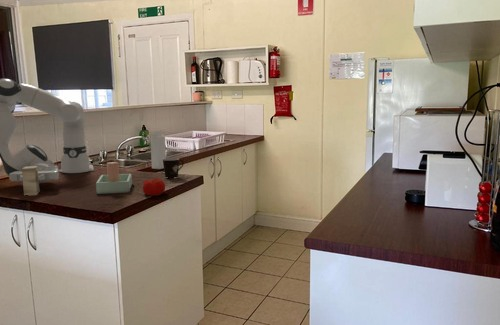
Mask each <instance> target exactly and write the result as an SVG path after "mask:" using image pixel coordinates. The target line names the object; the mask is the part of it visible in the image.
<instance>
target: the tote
mask: <svg viewBox="0 0 500 325" xmlns="http://www.w3.org/2000/svg"><path fill="white" fill-rule="evenodd" d="M132 176H133V175H132V173H119V181H116V182H108V175H107V174H101V175H99V178H98V180H97V181H96V183H95V188H96V189H95V190H96V194H97V195H98V194H99V195H101V194H121V193H130V192H131V189H130V188H132V184H133V178H132Z"/></svg>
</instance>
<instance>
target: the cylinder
mask: <svg viewBox="0 0 500 325" xmlns="http://www.w3.org/2000/svg"><path fill="white" fill-rule="evenodd" d="M119 165H120V164H119V162H118V161H112V162H110V161H109V162H106V171H107V173H106V175H108V182H116V181H119V174H120V169H119V167H120V166H119Z"/></svg>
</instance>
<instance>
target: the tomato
mask: <svg viewBox="0 0 500 325" xmlns="http://www.w3.org/2000/svg"><path fill="white" fill-rule="evenodd" d="M165 190H166V183H165V182H164V181H163V179H160V178H157V177H156V178H152V179H146V180H144V182H143V184H142V191H143V193H144V195H146V196H154V197H156V196H157V197H158V196H160V195H162V194H163V193H164V192H165Z"/></svg>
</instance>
